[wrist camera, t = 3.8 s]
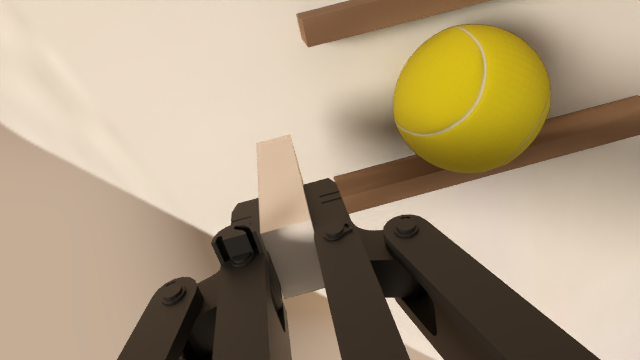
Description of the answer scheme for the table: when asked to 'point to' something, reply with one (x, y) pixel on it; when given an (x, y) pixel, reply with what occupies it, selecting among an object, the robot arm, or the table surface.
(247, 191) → the table surface
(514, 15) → the table surface
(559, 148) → the chute
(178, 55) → the table surface
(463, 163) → the tennis ball
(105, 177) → the table surface
